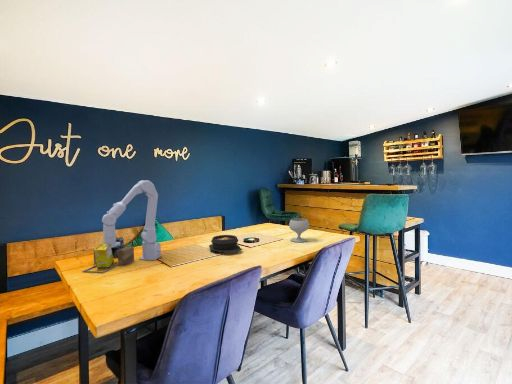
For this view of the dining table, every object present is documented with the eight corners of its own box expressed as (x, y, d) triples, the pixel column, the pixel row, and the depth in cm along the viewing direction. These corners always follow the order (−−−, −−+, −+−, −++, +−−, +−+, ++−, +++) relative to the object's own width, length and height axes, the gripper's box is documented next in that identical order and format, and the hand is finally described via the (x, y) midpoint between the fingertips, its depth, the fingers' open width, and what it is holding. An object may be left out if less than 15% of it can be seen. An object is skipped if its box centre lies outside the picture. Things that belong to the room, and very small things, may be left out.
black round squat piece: (249, 252, 172) (248, 238, 172) (222, 257, 161) (222, 243, 160) (226, 244, 192) (226, 232, 191) (201, 249, 180) (201, 236, 180)
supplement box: (102, 261, 148) (98, 243, 144) (114, 261, 149) (110, 243, 145) (97, 268, 143) (93, 249, 139) (109, 268, 143) (105, 249, 139)
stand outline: (117, 266, 146) (117, 265, 146) (103, 273, 136) (103, 272, 136) (98, 265, 148) (98, 264, 148) (82, 272, 138) (82, 271, 137)
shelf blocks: (134, 261, 155) (133, 246, 154) (125, 265, 147) (124, 250, 146) (104, 259, 158) (104, 245, 157) (94, 264, 150) (93, 249, 149)
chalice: (312, 239, 203) (312, 219, 203) (304, 243, 192) (304, 221, 191) (294, 237, 211) (294, 217, 210) (285, 241, 199) (285, 220, 198)
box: (109, 259, 160) (108, 240, 159) (107, 256, 165) (107, 238, 164) (124, 256, 164) (123, 238, 164) (122, 254, 169) (122, 236, 168)
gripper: (111, 233, 156) (112, 258, 157) (92, 239, 142) (93, 266, 143) (123, 234, 155) (124, 258, 156) (105, 240, 141) (106, 267, 142)
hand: (110, 262), depth 149 cm, fingers closed, pressing on supplement box
